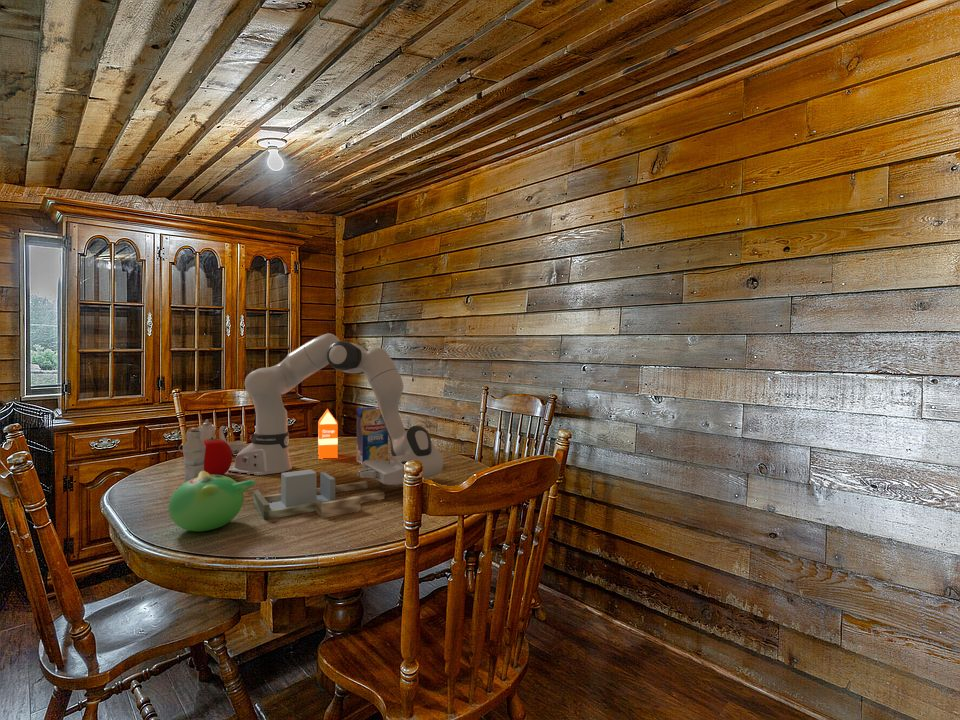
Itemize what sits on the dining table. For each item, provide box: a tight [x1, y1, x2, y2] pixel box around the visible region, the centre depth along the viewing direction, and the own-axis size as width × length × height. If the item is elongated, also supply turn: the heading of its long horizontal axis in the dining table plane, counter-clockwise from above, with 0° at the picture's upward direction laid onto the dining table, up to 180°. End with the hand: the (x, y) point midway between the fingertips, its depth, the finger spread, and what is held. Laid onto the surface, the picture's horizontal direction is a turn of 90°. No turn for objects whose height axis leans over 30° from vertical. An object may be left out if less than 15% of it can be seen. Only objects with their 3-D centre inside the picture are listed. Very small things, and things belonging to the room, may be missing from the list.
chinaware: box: [178, 418, 247, 454], centre depth 218 cm, size 28×17×17 cm, turn 98°
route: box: [252, 480, 385, 521], centre depth 158 cm, size 36×23×4 cm, turn 124°
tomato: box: [203, 437, 233, 476], centre depth 188 cm, size 13×11×14 cm
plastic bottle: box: [182, 429, 206, 484], centre depth 167 cm, size 6×7×20 cm
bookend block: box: [269, 469, 336, 510], centre depth 158 cm, size 18×10×10 cm, turn 124°
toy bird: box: [168, 471, 257, 532], centre depth 138 cm, size 18×17×15 cm
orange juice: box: [317, 408, 339, 460], centre depth 221 cm, size 8×9×20 cm
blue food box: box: [356, 406, 389, 466], centre depth 213 cm, size 7×11×22 cm, turn 124°
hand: (359, 474), depth 168 cm, fingers closed
